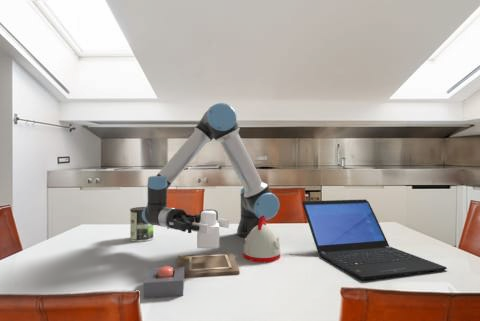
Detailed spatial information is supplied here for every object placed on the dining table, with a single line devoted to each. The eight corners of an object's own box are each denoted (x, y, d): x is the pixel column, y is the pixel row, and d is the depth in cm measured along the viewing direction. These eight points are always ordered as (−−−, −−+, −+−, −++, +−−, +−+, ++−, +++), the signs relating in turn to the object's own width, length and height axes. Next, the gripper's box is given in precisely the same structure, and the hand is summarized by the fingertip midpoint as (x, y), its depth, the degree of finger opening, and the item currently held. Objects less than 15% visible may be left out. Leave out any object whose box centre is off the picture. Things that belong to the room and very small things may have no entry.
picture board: (232, 255, 107) (232, 252, 107) (239, 274, 89) (239, 269, 89) (178, 258, 104) (178, 254, 104) (174, 278, 86) (174, 273, 86)
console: (184, 280, 85) (184, 266, 85) (183, 295, 75) (183, 280, 75) (149, 282, 83) (149, 268, 83) (143, 298, 73) (143, 282, 73)
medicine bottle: (198, 242, 100) (198, 208, 100) (218, 242, 100) (219, 208, 101) (197, 248, 93) (197, 212, 93) (219, 248, 93) (219, 211, 94)
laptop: (361, 283, 83) (361, 217, 83) (301, 247, 119) (301, 201, 119) (448, 272, 92) (448, 212, 92) (367, 241, 128) (367, 198, 128)
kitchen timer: (283, 252, 111) (283, 214, 111) (276, 264, 98) (276, 221, 98) (249, 249, 116) (249, 212, 116) (238, 260, 102) (238, 218, 103)
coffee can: (157, 236, 135) (157, 207, 135) (146, 242, 125) (146, 210, 125) (138, 235, 137) (138, 206, 137) (125, 241, 127) (125, 209, 127)
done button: (173, 276, 81) (173, 265, 81) (172, 282, 77) (172, 271, 77) (158, 277, 81) (159, 266, 81) (157, 283, 77) (157, 272, 77)
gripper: (194, 223, 116) (238, 231, 103) (148, 234, 98) (194, 245, 85) (194, 205, 116) (238, 210, 103) (148, 212, 98) (194, 220, 85)
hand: (218, 226), depth 94 cm, fingers closed on medicine bottle, 10 cm apart
